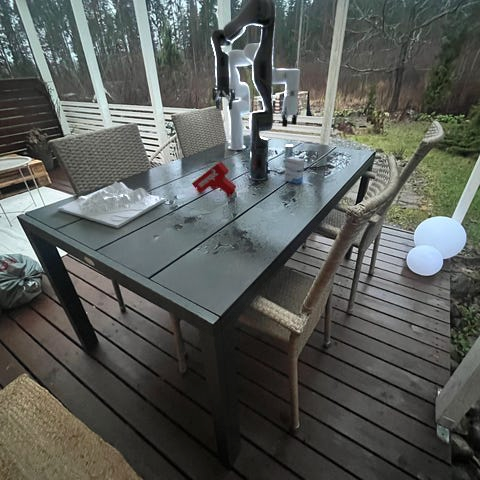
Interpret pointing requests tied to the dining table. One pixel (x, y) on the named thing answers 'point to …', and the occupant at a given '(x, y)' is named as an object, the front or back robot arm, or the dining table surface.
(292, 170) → the ink box
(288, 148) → the metal cylinder
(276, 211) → the dining table surface
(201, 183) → the toy gun
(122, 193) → the relief map
